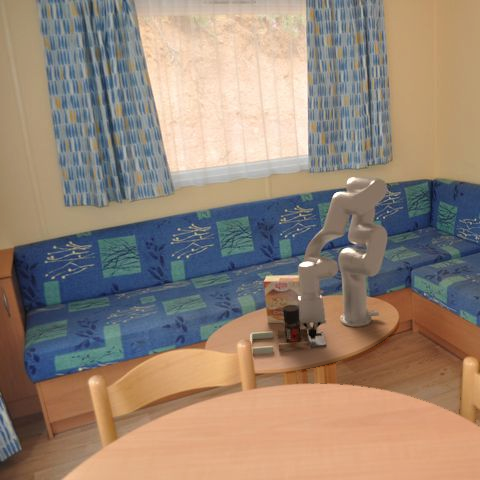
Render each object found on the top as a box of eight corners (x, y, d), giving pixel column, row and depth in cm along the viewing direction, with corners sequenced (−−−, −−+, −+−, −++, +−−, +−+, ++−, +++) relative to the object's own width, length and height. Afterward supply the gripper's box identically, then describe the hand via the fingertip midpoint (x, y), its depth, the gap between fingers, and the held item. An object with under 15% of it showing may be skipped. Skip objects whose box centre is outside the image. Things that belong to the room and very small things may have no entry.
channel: (307, 334, 186) (307, 327, 185) (310, 349, 175) (310, 342, 174) (277, 336, 187) (277, 330, 186) (279, 351, 176) (278, 344, 175)
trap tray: (322, 334, 185) (322, 332, 185) (326, 346, 175) (326, 344, 175) (307, 335, 185) (307, 333, 185) (310, 348, 176) (310, 345, 176)
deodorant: (302, 339, 183) (299, 305, 179) (299, 347, 177) (296, 311, 173) (288, 338, 185) (285, 304, 181) (284, 346, 179) (281, 310, 175)
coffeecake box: (267, 323, 200) (263, 281, 194) (269, 315, 206) (266, 275, 201) (302, 323, 196) (298, 280, 191) (303, 315, 203) (300, 274, 198)
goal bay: (272, 336, 188) (272, 331, 187) (273, 352, 176) (273, 346, 175) (250, 338, 188) (250, 332, 188) (250, 354, 176) (249, 348, 175)
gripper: (328, 288, 178) (330, 331, 183) (289, 291, 179) (293, 334, 184) (331, 296, 171) (333, 340, 176) (290, 299, 172) (294, 343, 177)
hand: (312, 337), depth 180 cm, fingers closed
